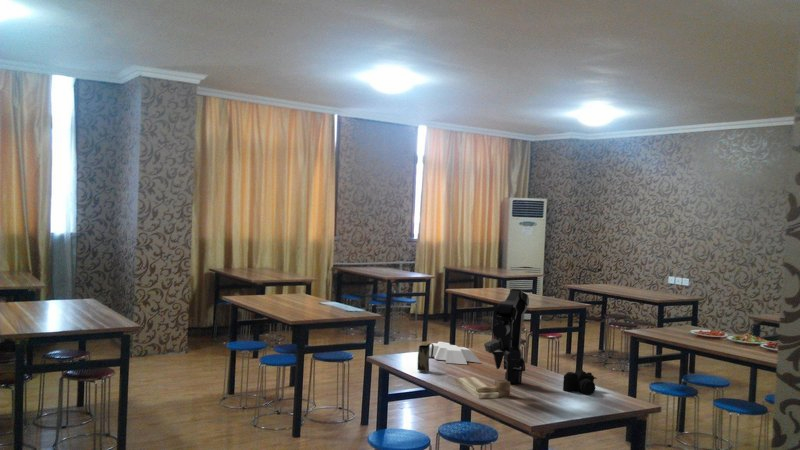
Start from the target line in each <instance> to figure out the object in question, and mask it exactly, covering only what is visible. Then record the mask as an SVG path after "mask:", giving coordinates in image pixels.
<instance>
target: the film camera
mask: <svg viewBox="0 0 800 450" xmlns="http://www.w3.org/2000/svg"><path fill="white" fill-rule="evenodd" d="M594 380H597V377H595V376H594V375H593V374H592V372H586V371H584V370H583V369H576V371H575V372H572V371H568V372H566V374H564V375H563V384H562V391H563V392H566V393H567V392H568V393H572V392H579V393H582V394H584V395H592V394H594V393H595V391H596V384H595V382H594Z"/></svg>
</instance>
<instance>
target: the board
mask: <svg viewBox="0 0 800 450" xmlns="http://www.w3.org/2000/svg"><path fill="white" fill-rule="evenodd" d="M454 383H455V384H457V385H458V386H460V388H462V389H464V390H465V391H467V393H469V394H471V395H472V396H473V397H476V398H477V399H479V400H480V399H497V398H500V397H499V393H498V392H496V391H479V392H477V391H476V387H490V386H489V385H487V384H485V383H484V382H483V381H481V380H479V379H478V378H476V377H475V376H471V377H468V376H467V377H455V379H454Z"/></svg>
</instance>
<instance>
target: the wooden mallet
mask: <svg viewBox="0 0 800 450" xmlns="http://www.w3.org/2000/svg"><path fill="white" fill-rule="evenodd" d="M476 391H477V392H479V391H496V392H498V393H499V398H502V397H503V398H504V397H510V396H511V385H510V382H509V381H507V380H505V379H495V380H494V386H489V387H476Z"/></svg>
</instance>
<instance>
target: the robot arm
mask: <svg viewBox="0 0 800 450" xmlns="http://www.w3.org/2000/svg"><path fill="white" fill-rule="evenodd" d="M529 304H530V298H529V295H528V294H527V293H525V292H524V291H523V290H522V289H519V288H511V289H510V290H509V293H508V296H507V297H506V299H505V300H502V301H500V302H499V303H498V305H497V306H496V310H495V313H494V319H493V320H494V321H497V323H496V324H494V325H493V328H492V334H493V335H494V339H492V340H489V341H487V342H484V344H483V345H484V350H485V352H487V353H489V354H491V355H492V356H493V360H494V363H495V367H496V369H497V370H500V368H501V365H502V363H503V370H505V373H504V380H507V381H509V382H510V386H516V385H518V386H519V385H521V386H522V385H524V383H523V382H522V377H523V372H526V361H525V359H524V354H523V351H522V349H521V342H522V341H521V339H522V331H523V330H522V329H523V317H524V314H525V313H526V312H527V309H528V306H529Z"/></svg>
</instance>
